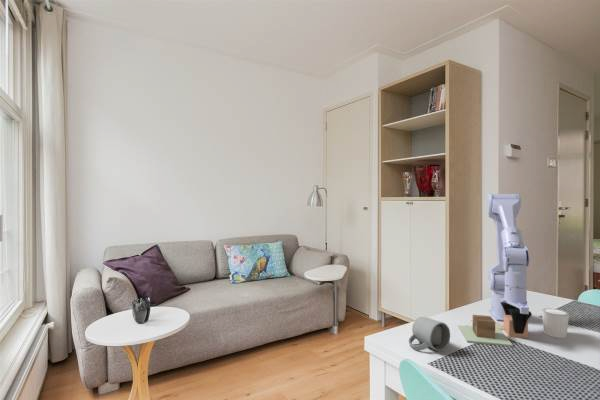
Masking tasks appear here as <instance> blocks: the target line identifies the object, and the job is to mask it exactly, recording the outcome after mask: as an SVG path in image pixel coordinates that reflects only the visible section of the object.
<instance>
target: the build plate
mask: <svg viewBox="0 0 600 400" xmlns="http://www.w3.org/2000/svg"><path fill="white" fill-rule="evenodd" d="M457 327H458V329H459V331H460V333H461V334H462V336H463V338H464V339H465V341H466V342H467V343H471V344H483V345H491V346H492V345H493V346H504V347H514V344H513V343H512V342H511V340H509V339H508V337H507V336H506V335H505V334H504V332H502V330H501V329H496V328H495V338H484V337H477V336H476V335H475V333H474V332H473V325H471V326H469V325H458V326H457Z"/></svg>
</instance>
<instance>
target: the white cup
mask: <svg viewBox="0 0 600 400" xmlns="http://www.w3.org/2000/svg"><path fill="white" fill-rule="evenodd" d="M541 316H542V325H543V332H544V334H545V335H547V336H550V337H554V338H556V339H557V338H559V339H565V338H567V335H568V329H569V328H568V327H569V319H570V313H569V312H567V311H565V310H561V309H556V308H548V307H547V308H542V309H541Z"/></svg>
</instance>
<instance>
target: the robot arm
mask: <svg viewBox="0 0 600 400" xmlns="http://www.w3.org/2000/svg"><path fill="white" fill-rule="evenodd" d="M486 201H487V202H486V205H487V215H488V218H490V219H492V220H493V222H494V223H493V224H494V226H495V227H494V228H495V241H496V242H495V243H496V244H495V245H496V261H497V262H496V263H497V264H496V263H495V265H493V266H491V268H490V269H489V270H488V286H489V289H490V290H491V291H492V293H491V310H488V313H489V314H491V316H492V318H494V319H495V320H496V321H500V322H501V321H502V322H504V315H511V317H512V320H513V327H514V331H515V333H519V334H523V333H524V329H525V326H526V323H527V321H528V322H529V320H530V318H531V316H532V314H533V313H532V312H531V311H530V309H529V308H530V307H528V300H527V299H528V298H527V293H528V292H527V290H528V289H527V287H528V285H527V284H528V283H527V282H528V281H527V276H528V275H527V272H528V271H527V268H528V267H529V265H530V260H531V259H530V252H529V248H528V247H527V244H525V243H524V239H523V234H522V231H521V230H520V228H517V220H516V218H517V217H518V215H519V212H520V210H521V206H522V199H521V195H520V194H519V193H489V194H488V195H487V200H486Z"/></svg>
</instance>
